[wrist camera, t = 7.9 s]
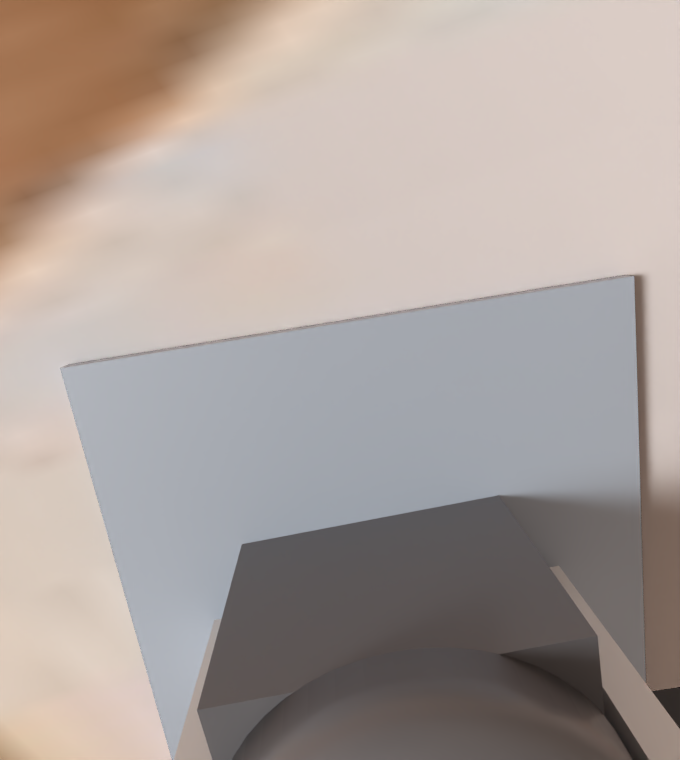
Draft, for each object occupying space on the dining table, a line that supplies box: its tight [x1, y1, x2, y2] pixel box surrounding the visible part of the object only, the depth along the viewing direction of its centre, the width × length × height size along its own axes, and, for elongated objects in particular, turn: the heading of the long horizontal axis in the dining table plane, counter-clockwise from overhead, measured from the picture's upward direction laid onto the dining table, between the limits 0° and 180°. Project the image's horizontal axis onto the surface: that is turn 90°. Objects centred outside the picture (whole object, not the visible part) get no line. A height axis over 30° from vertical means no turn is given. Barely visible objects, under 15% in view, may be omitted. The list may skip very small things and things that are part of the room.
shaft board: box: [60, 275, 646, 760], centre depth 12 cm, size 16×13×5 cm
